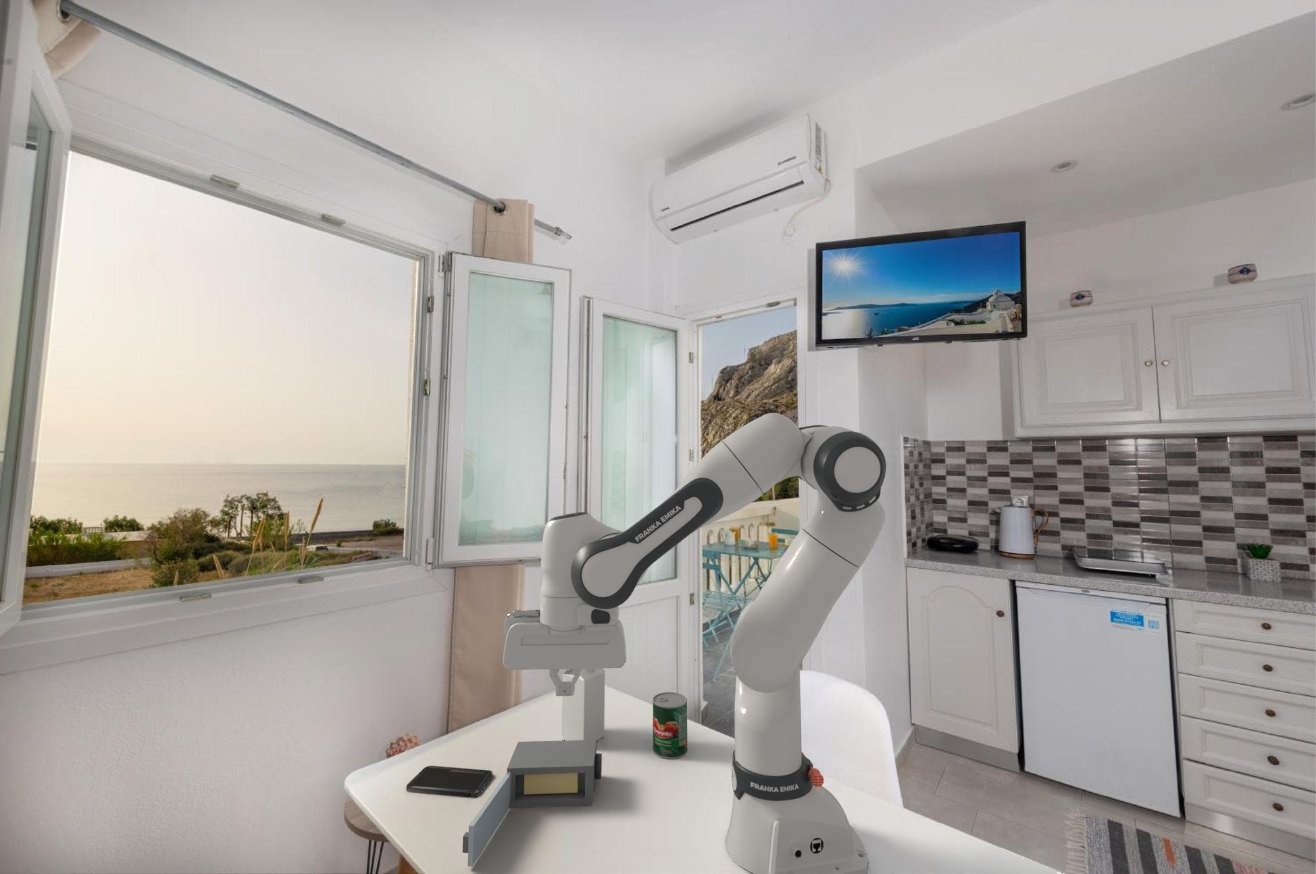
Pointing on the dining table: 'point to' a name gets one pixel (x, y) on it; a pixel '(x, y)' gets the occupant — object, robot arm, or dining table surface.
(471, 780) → the phone
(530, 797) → the box
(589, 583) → the robot arm
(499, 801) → the side door
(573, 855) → the dining table surface
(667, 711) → the canned tomato
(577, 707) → the milk carton
